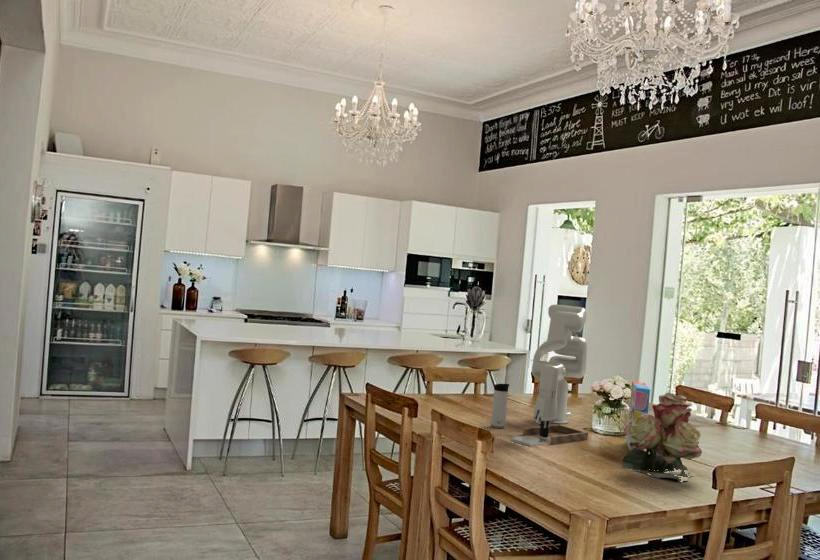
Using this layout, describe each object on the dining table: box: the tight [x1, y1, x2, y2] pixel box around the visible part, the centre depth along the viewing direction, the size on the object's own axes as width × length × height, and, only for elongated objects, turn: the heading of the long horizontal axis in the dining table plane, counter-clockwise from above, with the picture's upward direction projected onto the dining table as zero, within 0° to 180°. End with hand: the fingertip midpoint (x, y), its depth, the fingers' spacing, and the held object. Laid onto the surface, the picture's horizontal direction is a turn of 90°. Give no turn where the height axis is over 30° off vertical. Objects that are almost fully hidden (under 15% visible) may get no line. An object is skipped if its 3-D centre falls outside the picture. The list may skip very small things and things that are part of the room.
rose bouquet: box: [621, 392, 703, 482], centre depth 280 cm, size 26×29×30 cm
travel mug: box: [490, 383, 510, 429], centre depth 333 cm, size 6×7×20 cm
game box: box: [625, 381, 651, 452], centre depth 316 cm, size 21×6×27 cm, turn 168°
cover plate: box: [510, 435, 548, 448], centre depth 308 cm, size 12×10×2 cm
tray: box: [522, 424, 589, 445], centre depth 321 cm, size 24×16×4 cm, turn 131°
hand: (543, 436), depth 315 cm, fingers closed
